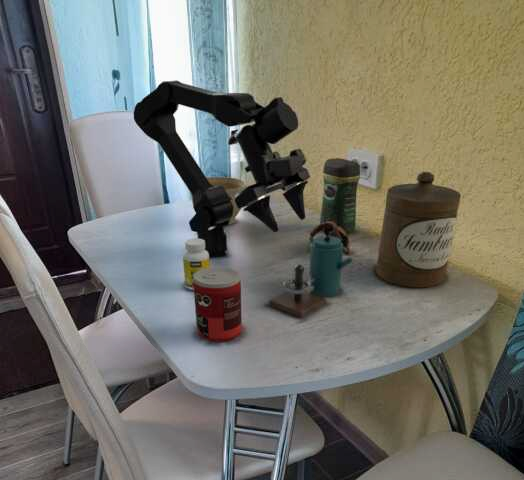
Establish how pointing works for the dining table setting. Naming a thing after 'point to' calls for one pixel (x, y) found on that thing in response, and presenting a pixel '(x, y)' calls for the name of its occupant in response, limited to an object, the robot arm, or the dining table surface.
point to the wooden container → (417, 233)
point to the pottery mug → (331, 233)
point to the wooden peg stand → (298, 298)
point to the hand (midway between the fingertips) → (290, 225)
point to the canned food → (218, 303)
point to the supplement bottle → (194, 260)
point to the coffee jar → (340, 193)
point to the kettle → (323, 268)
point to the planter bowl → (228, 190)
